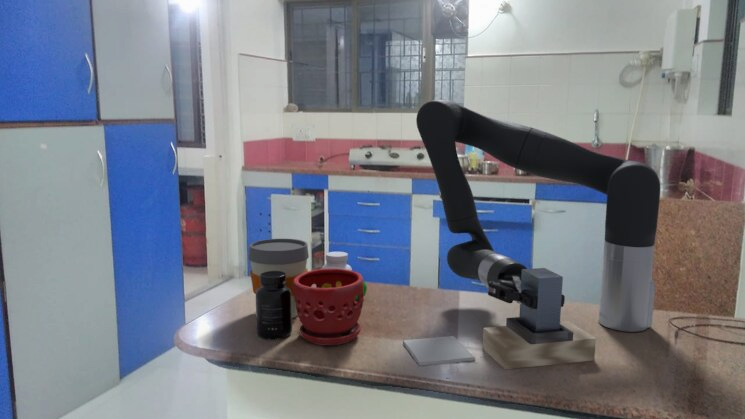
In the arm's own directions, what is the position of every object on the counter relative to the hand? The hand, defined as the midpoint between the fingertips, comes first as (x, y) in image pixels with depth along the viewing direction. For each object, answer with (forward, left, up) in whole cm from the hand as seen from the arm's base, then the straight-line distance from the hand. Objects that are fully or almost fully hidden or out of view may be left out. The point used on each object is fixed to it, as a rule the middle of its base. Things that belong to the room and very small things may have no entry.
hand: (548, 302), depth 99 cm
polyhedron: (+25, -41, -11) cm, 49 cm away
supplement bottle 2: (+31, -33, -11) cm, 46 cm away
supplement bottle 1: (+45, -23, -11) cm, 52 cm away
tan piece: (0, -3, -11) cm, 11 cm away
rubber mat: (+17, -8, -11) cm, 21 cm away
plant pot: (+35, -19, -11) cm, 41 cm away
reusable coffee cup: (+43, -35, -11) cm, 56 cm away
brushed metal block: (0, -3, -7) cm, 7 cm away
